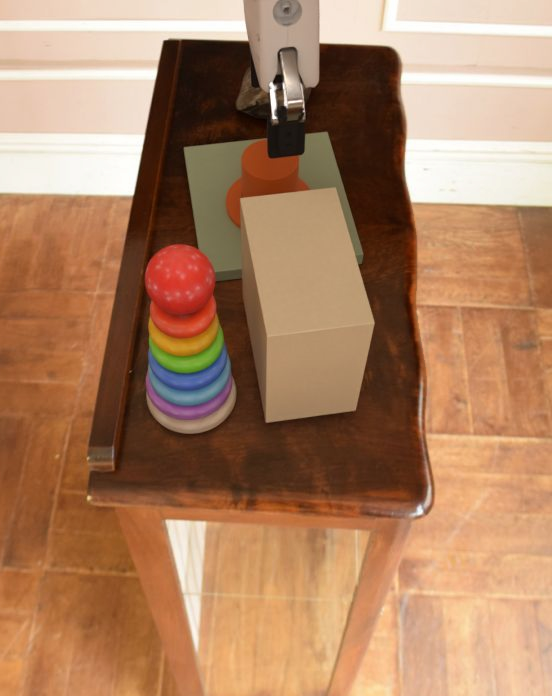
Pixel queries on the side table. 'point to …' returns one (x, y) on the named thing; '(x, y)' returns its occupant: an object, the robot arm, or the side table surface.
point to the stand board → (225, 168)
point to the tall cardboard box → (303, 304)
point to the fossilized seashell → (260, 98)
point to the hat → (262, 178)
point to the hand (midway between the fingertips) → (276, 118)
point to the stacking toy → (186, 344)
